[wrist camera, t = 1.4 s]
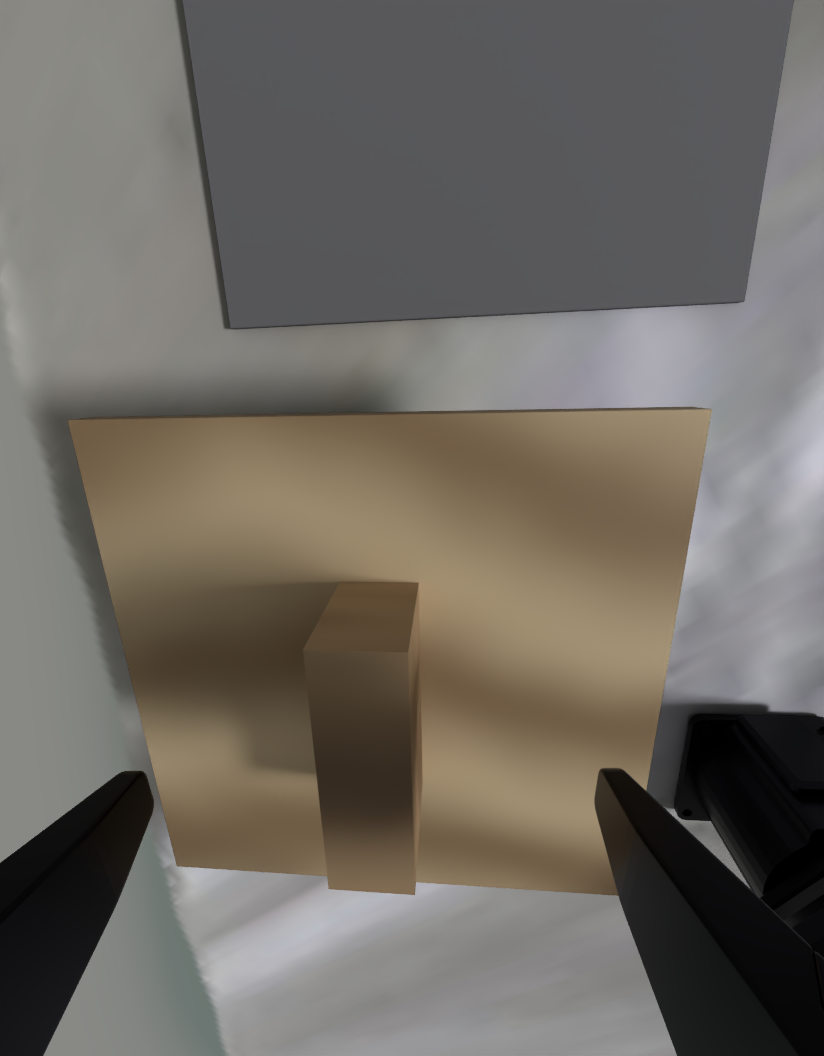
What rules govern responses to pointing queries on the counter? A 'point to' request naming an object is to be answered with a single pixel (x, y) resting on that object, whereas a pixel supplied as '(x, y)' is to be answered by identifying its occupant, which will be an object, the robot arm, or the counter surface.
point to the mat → (483, 153)
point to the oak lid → (396, 630)
